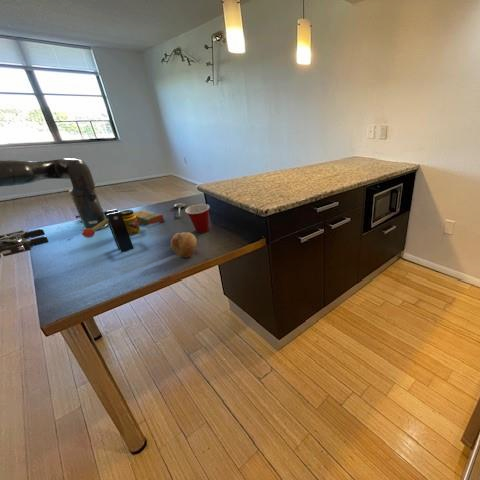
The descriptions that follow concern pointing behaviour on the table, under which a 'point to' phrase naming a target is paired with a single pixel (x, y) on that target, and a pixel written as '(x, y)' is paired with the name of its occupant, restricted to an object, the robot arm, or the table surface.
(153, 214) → the carton
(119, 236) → the black tall block
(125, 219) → the condiment
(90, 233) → the tap lever
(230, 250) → the table surface
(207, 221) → the plastic cup
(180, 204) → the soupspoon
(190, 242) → the bread roll
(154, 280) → the table surface
